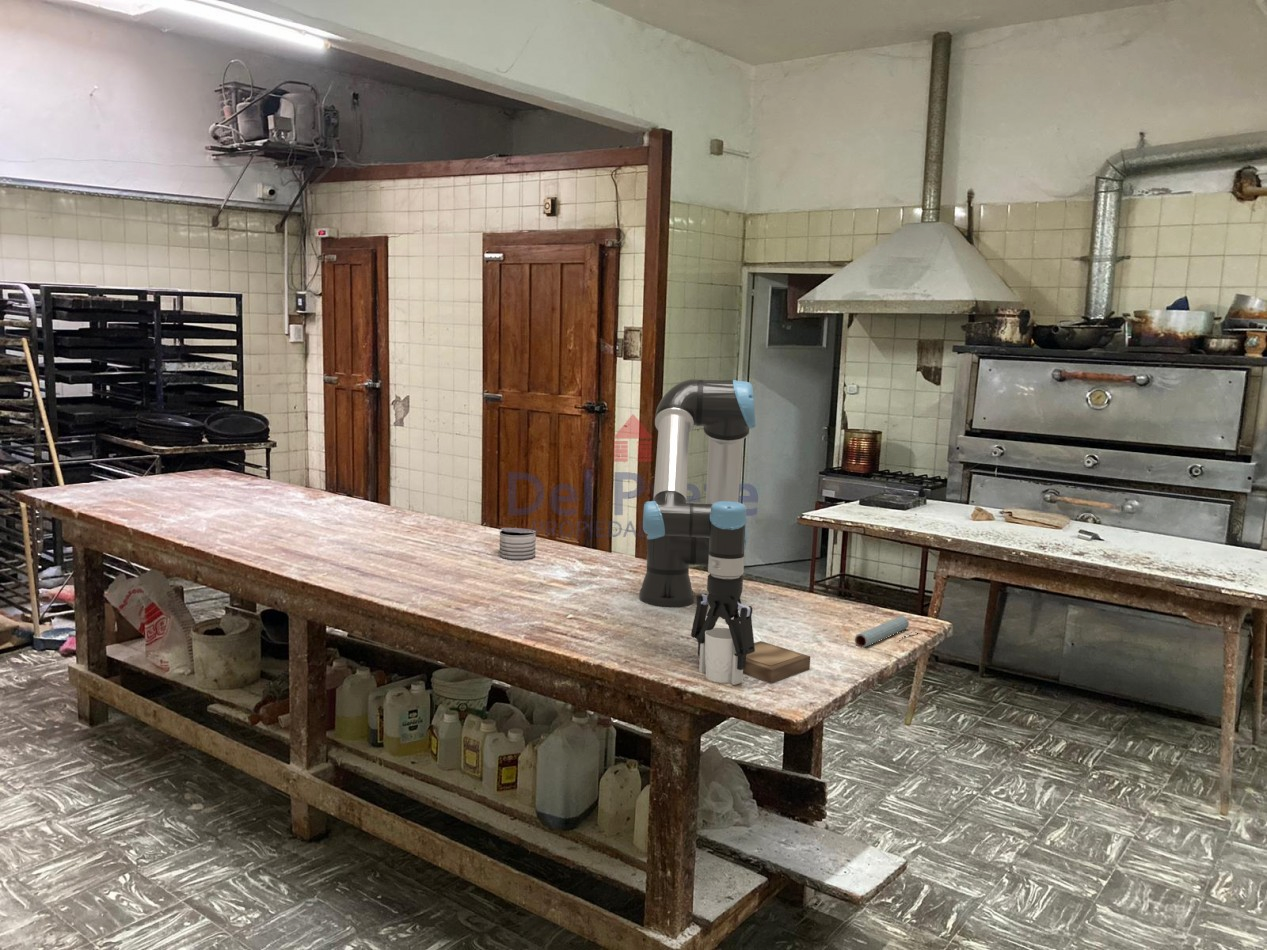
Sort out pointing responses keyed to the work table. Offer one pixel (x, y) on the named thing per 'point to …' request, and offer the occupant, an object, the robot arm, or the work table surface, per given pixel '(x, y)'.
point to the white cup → (719, 655)
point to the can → (517, 544)
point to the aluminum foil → (882, 631)
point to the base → (774, 662)
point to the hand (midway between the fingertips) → (720, 677)
